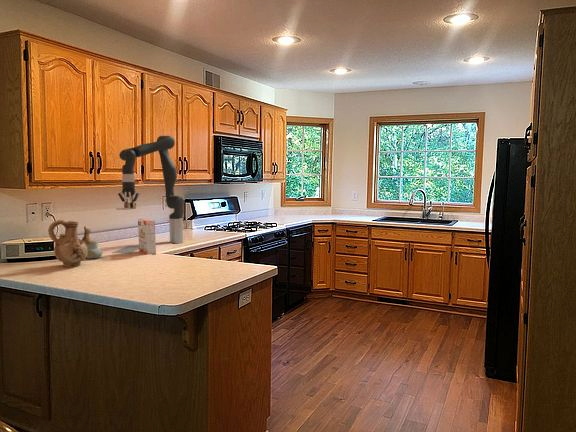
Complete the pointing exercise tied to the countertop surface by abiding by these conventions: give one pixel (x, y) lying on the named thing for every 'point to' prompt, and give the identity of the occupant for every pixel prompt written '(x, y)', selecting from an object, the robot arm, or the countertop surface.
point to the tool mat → (127, 249)
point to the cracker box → (147, 236)
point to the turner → (127, 206)
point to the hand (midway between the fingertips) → (129, 208)
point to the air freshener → (93, 251)
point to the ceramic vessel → (70, 243)
